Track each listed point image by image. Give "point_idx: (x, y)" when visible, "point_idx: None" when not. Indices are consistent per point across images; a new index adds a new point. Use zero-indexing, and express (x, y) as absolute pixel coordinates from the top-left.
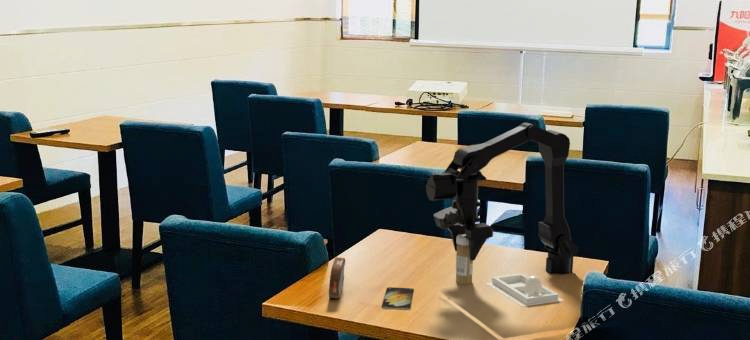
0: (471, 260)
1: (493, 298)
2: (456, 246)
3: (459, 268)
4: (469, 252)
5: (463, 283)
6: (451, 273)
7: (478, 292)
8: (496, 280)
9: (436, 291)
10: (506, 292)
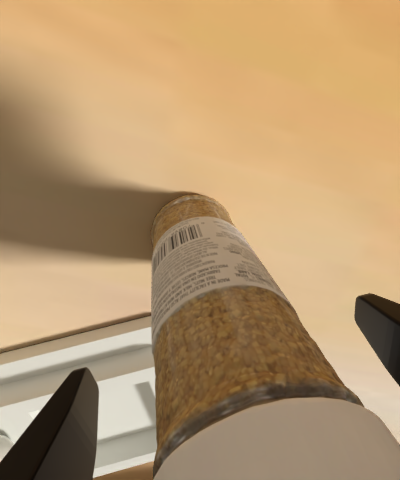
0: (76, 372)
1: (9, 315)
2: (391, 330)
3: (172, 247)
4: (47, 440)
5: (154, 231)
6: (355, 213)
7: (89, 273)
8: (123, 371)
9: (108, 52)
10: (36, 373)
